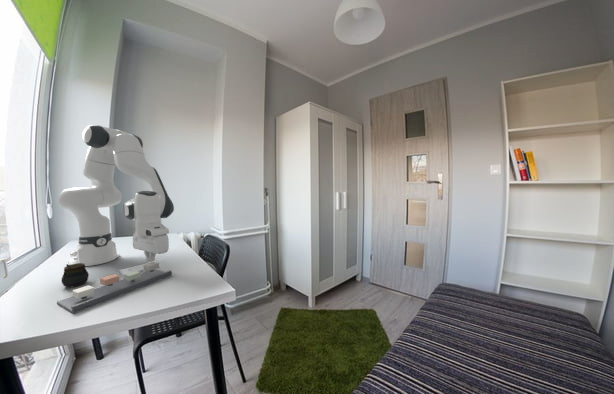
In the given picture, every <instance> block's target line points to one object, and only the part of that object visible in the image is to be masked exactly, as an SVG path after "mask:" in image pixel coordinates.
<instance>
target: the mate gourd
mask: <svg viewBox="0 0 614 394" xmlns="http://www.w3.org/2000/svg"><path fill="white" fill-rule="evenodd" d="M89 276H90V274H89V272H88V270H87V268H86V266H85V264H84V263H76V264H71V265H69V263H68V264H66V265H65V266H64V267H63V275H62V277H61V283H62V285H63V287H66V288H75V287H79V286H82V285H84V284H85V283H86V282H87V281H88V279H89Z"/></svg>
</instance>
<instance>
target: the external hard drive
mask: <svg viewBox="0 0 614 394" xmlns="http://www.w3.org/2000/svg"><path fill="white" fill-rule="evenodd" d="M148 263H151V262H150V261H149V262H147V263H143V264H138V265H135V266H130V267H126V268H123V269H119V271H118V272H119V273H120V274H121V275H122V276H123V277H124V274H126V273H129V272H132V271H139V272H142V273H143V272H147V270H144V265H145V264H148Z"/></svg>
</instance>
